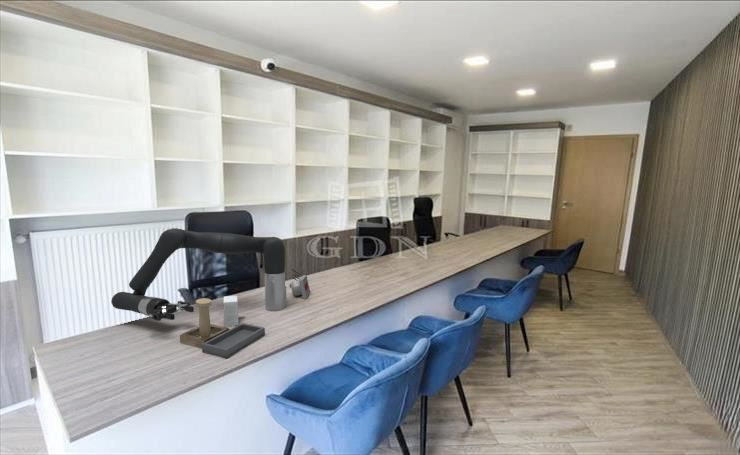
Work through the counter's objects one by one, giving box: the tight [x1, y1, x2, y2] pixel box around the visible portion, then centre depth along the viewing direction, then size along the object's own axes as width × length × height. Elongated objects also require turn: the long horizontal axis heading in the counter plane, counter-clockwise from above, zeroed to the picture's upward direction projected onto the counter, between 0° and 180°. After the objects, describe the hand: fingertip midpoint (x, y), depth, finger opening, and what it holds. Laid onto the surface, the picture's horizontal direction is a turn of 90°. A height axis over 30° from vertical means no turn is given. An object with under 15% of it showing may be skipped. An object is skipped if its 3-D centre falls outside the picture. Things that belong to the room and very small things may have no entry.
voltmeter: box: [288, 268, 311, 300], centre depth 190 cm, size 27×11×10 cm, turn 33°
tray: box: [201, 322, 266, 359], centre depth 131 cm, size 20×11×3 cm, turn 158°
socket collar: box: [179, 323, 230, 349], centre depth 134 cm, size 12×12×3 cm
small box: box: [222, 295, 239, 328], centre depth 149 cm, size 8×6×10 cm
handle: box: [195, 297, 212, 339], centre depth 133 cm, size 5×6×15 cm
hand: (183, 313), depth 137 cm, fingers open, 8 cm apart
